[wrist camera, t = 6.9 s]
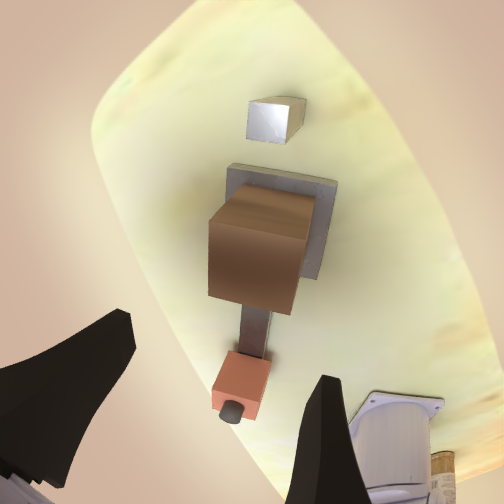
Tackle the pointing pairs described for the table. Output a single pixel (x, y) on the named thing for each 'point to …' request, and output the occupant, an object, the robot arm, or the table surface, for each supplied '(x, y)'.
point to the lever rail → (254, 331)
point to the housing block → (259, 247)
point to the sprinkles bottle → (443, 475)
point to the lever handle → (240, 387)
